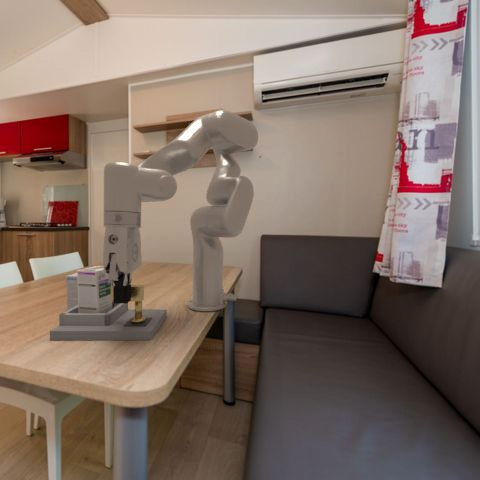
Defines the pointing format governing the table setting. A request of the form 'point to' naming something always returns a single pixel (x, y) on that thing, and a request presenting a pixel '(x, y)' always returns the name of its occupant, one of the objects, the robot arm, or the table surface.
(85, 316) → the plate
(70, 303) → the light bulb box
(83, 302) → the syrup box
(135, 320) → the brass key
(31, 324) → the table surface
